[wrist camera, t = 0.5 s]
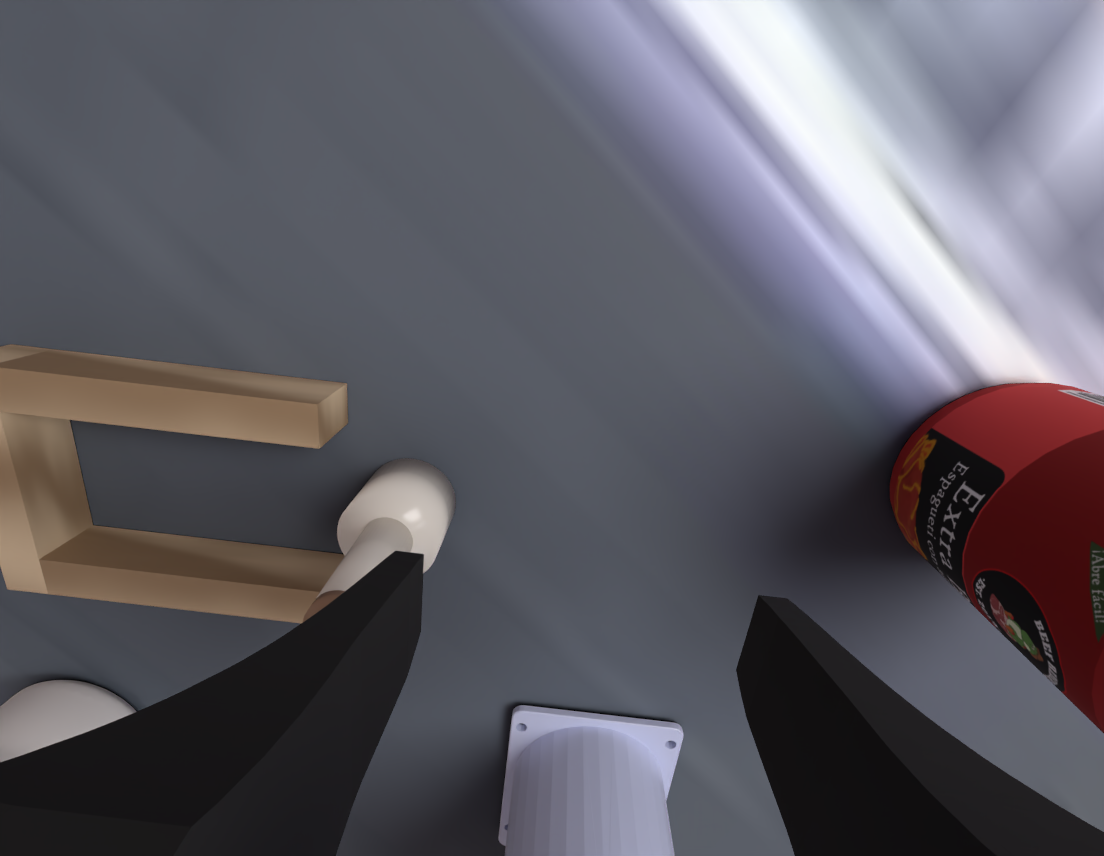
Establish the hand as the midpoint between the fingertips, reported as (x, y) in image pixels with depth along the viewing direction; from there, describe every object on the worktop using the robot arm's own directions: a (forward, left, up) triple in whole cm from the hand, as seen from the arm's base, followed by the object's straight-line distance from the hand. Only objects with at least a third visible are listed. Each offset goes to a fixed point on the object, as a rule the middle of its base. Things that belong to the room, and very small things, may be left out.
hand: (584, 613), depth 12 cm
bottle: (-3, +6, -10) cm, 12 cm away
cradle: (-3, +14, -10) cm, 18 cm away
